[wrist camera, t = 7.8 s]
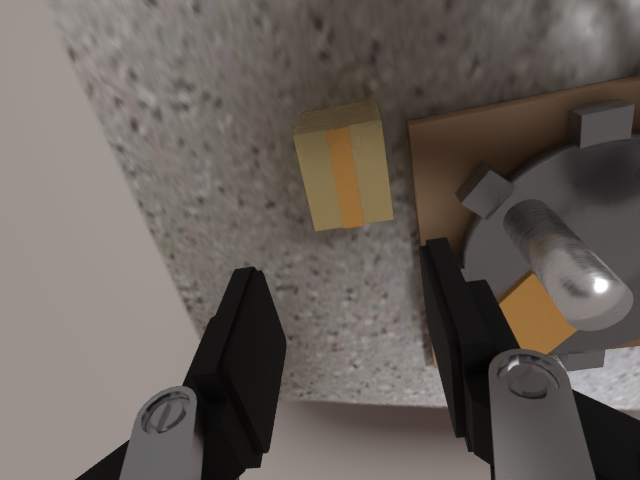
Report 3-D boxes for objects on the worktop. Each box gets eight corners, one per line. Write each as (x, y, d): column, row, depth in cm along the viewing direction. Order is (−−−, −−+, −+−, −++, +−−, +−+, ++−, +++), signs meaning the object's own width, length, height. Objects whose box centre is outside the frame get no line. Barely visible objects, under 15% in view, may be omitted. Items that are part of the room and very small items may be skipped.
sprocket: (377, 284, 26) (390, 396, 19) (597, 23, 18) (767, 40, 11) (572, 387, 30) (646, 515, 22) (824, 208, 22) (1064, 313, 15)
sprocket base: (406, 120, 22) (409, 127, 21) (787, 45, 20) (815, 48, 18) (432, 357, 31) (435, 370, 30) (698, 328, 28) (713, 341, 27)
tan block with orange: (302, 112, 22) (292, 136, 18) (375, 98, 22) (381, 120, 18) (320, 195, 25) (314, 233, 21) (386, 184, 24) (394, 221, 20)
